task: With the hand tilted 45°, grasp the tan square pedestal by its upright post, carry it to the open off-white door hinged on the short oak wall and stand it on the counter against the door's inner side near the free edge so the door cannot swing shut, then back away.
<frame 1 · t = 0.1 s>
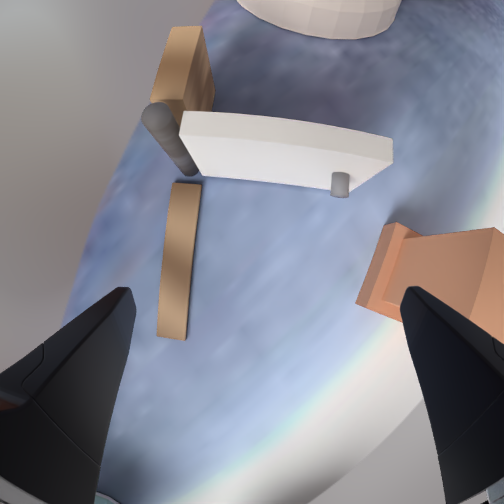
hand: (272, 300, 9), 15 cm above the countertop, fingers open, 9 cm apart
door: (281, 167, 20), point 5 cm above the countertop, hinge at 90.0°
tan square pedestal: (403, 278, 24), on the countertop
door frame: (190, 167, 24), on the countertop
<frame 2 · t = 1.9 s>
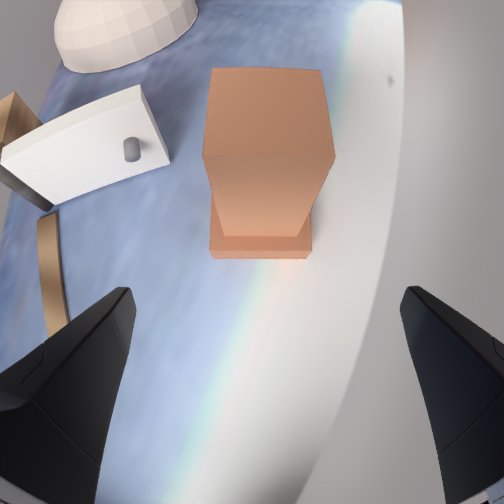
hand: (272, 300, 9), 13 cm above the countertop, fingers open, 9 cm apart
door: (86, 160, 20), point 5 cm above the countertop, hinge at 90.0°
tan square pedestal: (259, 215, 24), on the countertop
door frame: (47, 204, 24), on the countertop
kettle: (128, 28, 31), on the countertop
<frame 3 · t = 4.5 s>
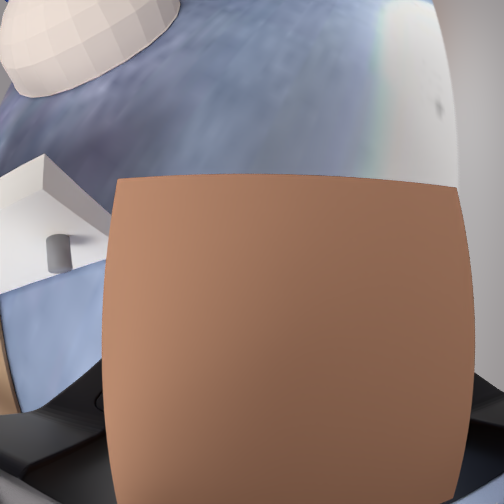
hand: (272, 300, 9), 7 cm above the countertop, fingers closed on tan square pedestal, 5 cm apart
door: (7, 261, 12), point 5 cm above the countertop, hinge at 90.0°
tan square pedestal: (263, 337, 16), on the countertop, touching gripper
kettle: (92, 33, 23), on the countertop
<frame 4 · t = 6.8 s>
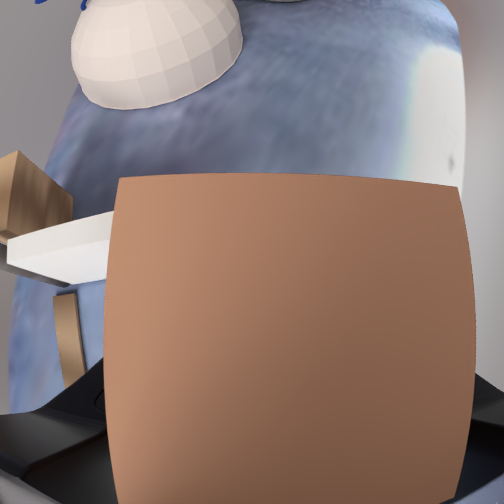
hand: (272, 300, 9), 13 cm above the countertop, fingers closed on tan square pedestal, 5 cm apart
door: (112, 262, 18), point 5 cm above the countertop, hinge at 90.0°
tan square pedestal: (263, 337, 16), point 6 cm above the countertop, touching gripper
door frame: (64, 278, 23), on the countertop
kettle: (159, 51, 30), on the countertop
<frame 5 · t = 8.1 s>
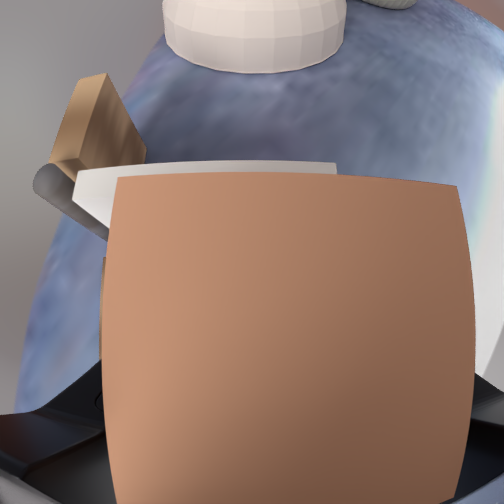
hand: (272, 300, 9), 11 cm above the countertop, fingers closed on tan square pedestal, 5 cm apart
door: (208, 225, 16), point 5 cm above the countertop, hinge at 90.0°
tan square pedestal: (263, 337, 16), point 4 cm above the countertop, touching gripper
door frame: (122, 238, 21), on the countertop
kettle: (255, 22, 27), on the countertop
when the fingers open (8 cm above the countertop, at t = 9.1 s): tan square pedestal stays where it is, on the countertop.
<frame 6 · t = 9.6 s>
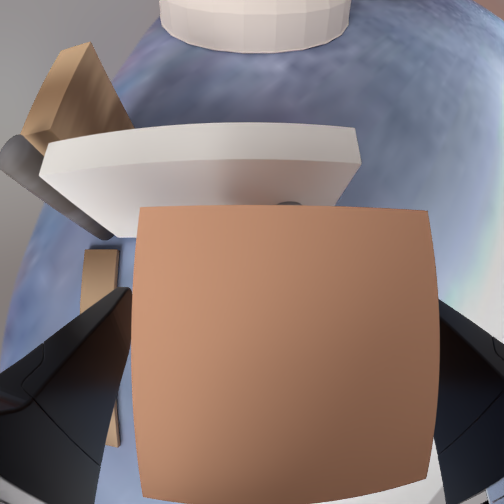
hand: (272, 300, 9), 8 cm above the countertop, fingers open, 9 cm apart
door: (200, 208, 14), point 5 cm above the countertop, hinge at 90.0°
tan square pedestal: (262, 337, 17), on the countertop
door frame: (105, 228, 18), on the countertop
kettle: (255, 5, 25), on the countertop
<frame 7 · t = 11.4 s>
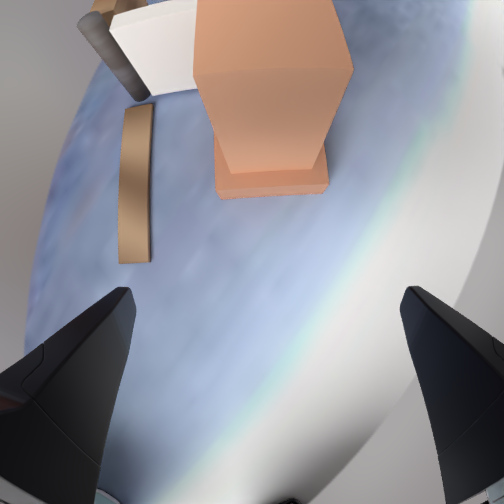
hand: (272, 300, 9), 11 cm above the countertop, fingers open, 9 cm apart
door: (217, 51, 17), point 5 cm above the countertop, hinge at 90.0°
tan square pedestal: (268, 149, 21), on the countertop
door frame: (141, 93, 22), on the countertop
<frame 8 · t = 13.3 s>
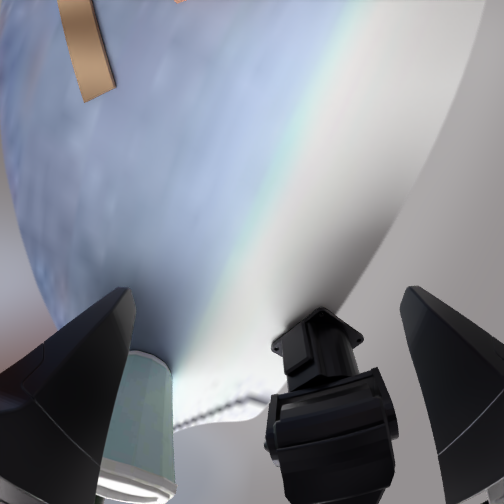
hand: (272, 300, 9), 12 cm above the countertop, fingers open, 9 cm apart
disposable coffee cup: (145, 368, 30), on the countertop
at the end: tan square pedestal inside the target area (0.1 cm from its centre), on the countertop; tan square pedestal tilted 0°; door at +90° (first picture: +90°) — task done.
